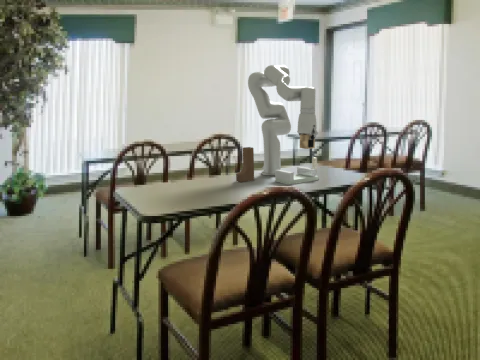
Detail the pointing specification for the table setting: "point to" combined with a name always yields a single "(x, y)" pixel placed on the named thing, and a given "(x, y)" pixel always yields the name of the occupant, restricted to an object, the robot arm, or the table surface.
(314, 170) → the slide jaw
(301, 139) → the maple block
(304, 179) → the vise base
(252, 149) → the wooden block
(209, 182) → the table surface
